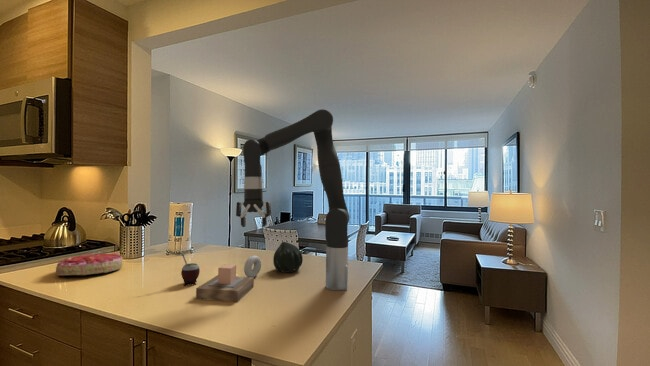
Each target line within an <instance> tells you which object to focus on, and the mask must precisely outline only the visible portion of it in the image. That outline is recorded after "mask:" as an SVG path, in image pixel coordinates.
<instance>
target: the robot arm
mask: <svg viewBox="0 0 650 366" xmlns="http://www.w3.org/2000/svg"><path fill="white" fill-rule="evenodd" d="M333 123H334V116H333V114H332V113H331V112H330V111H329V110H328V109H324V108H323V109H318V110H316V111H314V112H312V113H311V114H309V115H308V116H306V117H305V118H304V117H303V118H302V119H301V120H298V121H296V122H294V123H292V124H289V125H287V126H284V127H282V128H280V129H276V130H275V131H272V132H269V133H267V134H265V136H264V137H261V138H259V139H257V140H256V139H247V140H246V141H245V142H244V144H243V147H242V152H243V153H242V155H243V161H244V181H243V193H244V194H243V198H244V199H243V202H242V201H238V202H236V206H235V207H236V208H235V209H236V210H235V216H236V217H238V218H240V226H241V227H242V228H245V227H246V225H247V223H246V216H247V215H248V214H249V213H259V214H260V215H261V217H262V218H261V227H262V228H265V227H266V226H267V223H268V222H267V218H268V217H270V216H272V207H271V201H263V199H264V197H263V193H264V192H263V188H264V187H263V173H262V172H263V170H262V169H263V167H262V163H261V156H264V155H265V154H267V153H269V152H272V151H273V150H276V149H279V148H282V147H284V146H287V145H288V144H290V143H292V142H294V141H295V140H297V139H299V138H301V137H303V136H304V135H308V134H310V133H313V136H314V139H315V143H316V150H317V151H316V153H317V154H316V155H317V166H318V171H319V178H320V181H321V184H322V187H323V189H324V192H325V195H326V198H327V203H328V212H327V214H326V216H325V223H324V225H325V226H324V229H325V234H324V235H325V243H326V248H325V249H326V250H325V255H326V256H325V288H326V289H327V290H331V291H346V290H348V286H349V280H348V279H349V239H348V225H349V223H350V215H349V210H348V207H347V204H346V198H345V195H344V184H343V176H342V169H341V164H340V160H339V159H340V158H339V156H338V153H337V151H336V148H335V145H334V140H333V132H332V130H333V128H332V127H333ZM263 206H264V207H265V209H266V210H264V209H263ZM243 207H244V209H243V211H242V208H243ZM265 211H266V213H265Z"/></svg>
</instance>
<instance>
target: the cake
mask: <svg viewBox="0 0 650 366" xmlns="http://www.w3.org/2000/svg"><path fill="white" fill-rule="evenodd" d="M123 260H124V259H123V257H122V255H120V254H118V253H113V252H112V253H95V254H90V253H88V254H85V255H78V256H71V257H67V258H64V259H63V260H61V261H59V262H58V263H57V264H56V266H55V275H57V276H58V277H63V278H64V277H66V276H87V275H98V274H101V275H104V274H109V273H111V272H112V271H113V272H116V271H119V270H120V269H122V267H123V263H124V262H123Z"/></svg>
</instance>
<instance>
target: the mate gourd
mask: <svg viewBox="0 0 650 366" xmlns="http://www.w3.org/2000/svg"><path fill="white" fill-rule="evenodd" d="M175 250H176V251H177V252H178V253H180V254H181V256H182V258H183V261H184V263H185V264H184V265H183V267H182V268H181V273H180V274H181V278H182V280H183V287H186V285H187V286H189V285H192V284H193V286H196V285H197V282H198V281H197V280H198V278H199V276H200V266H199V265H198V264H197V263H196V262H195V263H193V262H192V263H191V262H190V263H187V260H186V257H185V254H184V253H183V252H182V251H181V250H180V249H175ZM188 284H189V285H188Z"/></svg>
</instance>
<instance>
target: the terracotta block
mask: <svg viewBox="0 0 650 366" xmlns="http://www.w3.org/2000/svg"><path fill="white" fill-rule="evenodd" d="M217 270H218V271H217V274H218V283H219V284H231V283H233V282H234V281H235V280H236V276H237V264H228V263H227V264H226V263H225V264H222V265H221V266H218V268H217Z"/></svg>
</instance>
